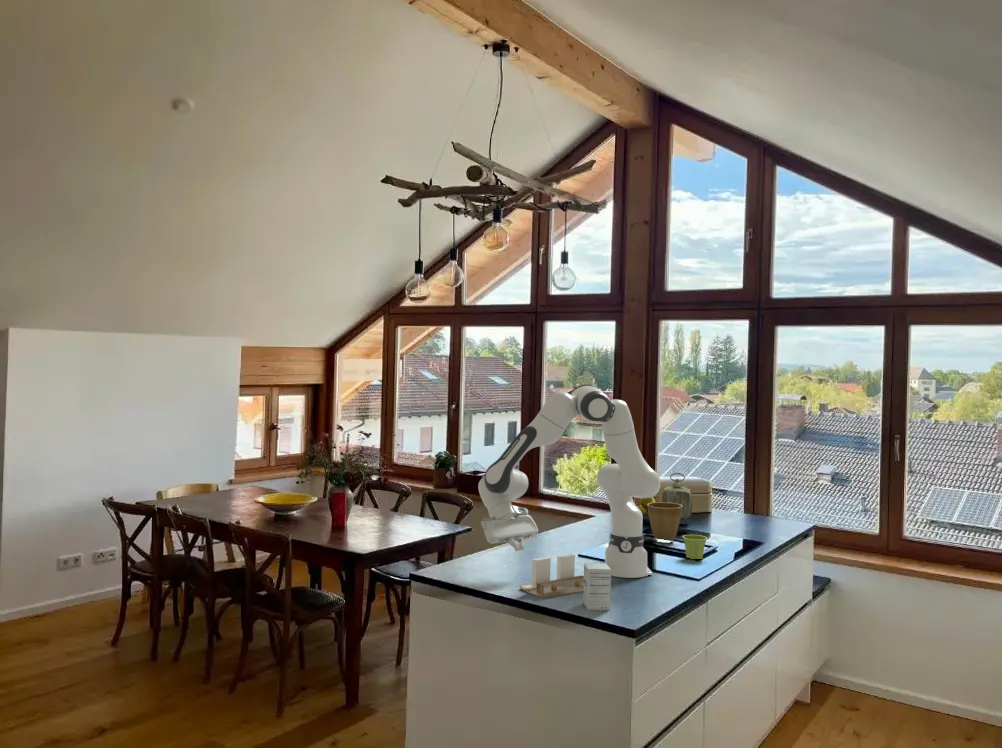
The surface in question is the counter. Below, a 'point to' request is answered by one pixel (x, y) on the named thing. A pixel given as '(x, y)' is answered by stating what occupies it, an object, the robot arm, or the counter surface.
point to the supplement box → (597, 586)
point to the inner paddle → (565, 566)
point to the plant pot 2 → (694, 546)
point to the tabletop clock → (679, 497)
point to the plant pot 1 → (664, 519)
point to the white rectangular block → (540, 570)
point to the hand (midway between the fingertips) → (520, 549)
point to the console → (556, 587)
